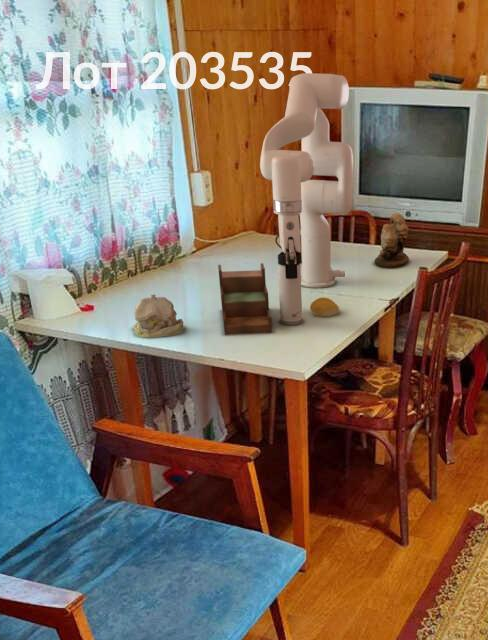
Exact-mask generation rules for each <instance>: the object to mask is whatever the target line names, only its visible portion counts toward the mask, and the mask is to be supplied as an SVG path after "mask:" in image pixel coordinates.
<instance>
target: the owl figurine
mask: <svg viewBox="0 0 488 640" xmlns="http://www.w3.org/2000/svg"><path fill="white" fill-rule="evenodd" d="M389 218H390V219H389V221H390V223H385V224H383V226H382V229H381V234H380V247H381V250H379V254H378V255H377V257H376V258H375V259H374V265H375V266H377V267H379V268H383V269H397V268H398V269H399V268H401V267H405V266H406V265H407V264H408V263H409V261H410V257H409V256H408V255H407V254H406V253H405V252H404V249H405V246H406V242H407V241H408V236H409V226H408V225H407V224H406V223H407V222H406V220H405V217H404V216H403V215H402V214H400V213H398V212H393V213H392V214H391V215H390V217H389Z"/></svg>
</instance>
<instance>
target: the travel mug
mask: <svg viewBox="0 0 488 640" xmlns="http://www.w3.org/2000/svg"><path fill="white" fill-rule="evenodd" d="M287 252H289V251H287ZM300 255H301V252H300V253H298V252H297V251H296V263H297V278H296V279H286V273H285V264H286V255H285V253H284V252H283V251H281V252H280V253H278V254H277V270H278V272H277V274H278V275H277V276H278V294H279V295H278V296H279V297H278V299H279V316H280V317H279V319H280V320H279V321H280V323H282V325H285V326H296V325H297V326H298V325H300V324H302V323H303V306H302V305H303V304H302V303H303V302H302V285H301V276H302V263H300ZM288 256H289V255H288Z"/></svg>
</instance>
